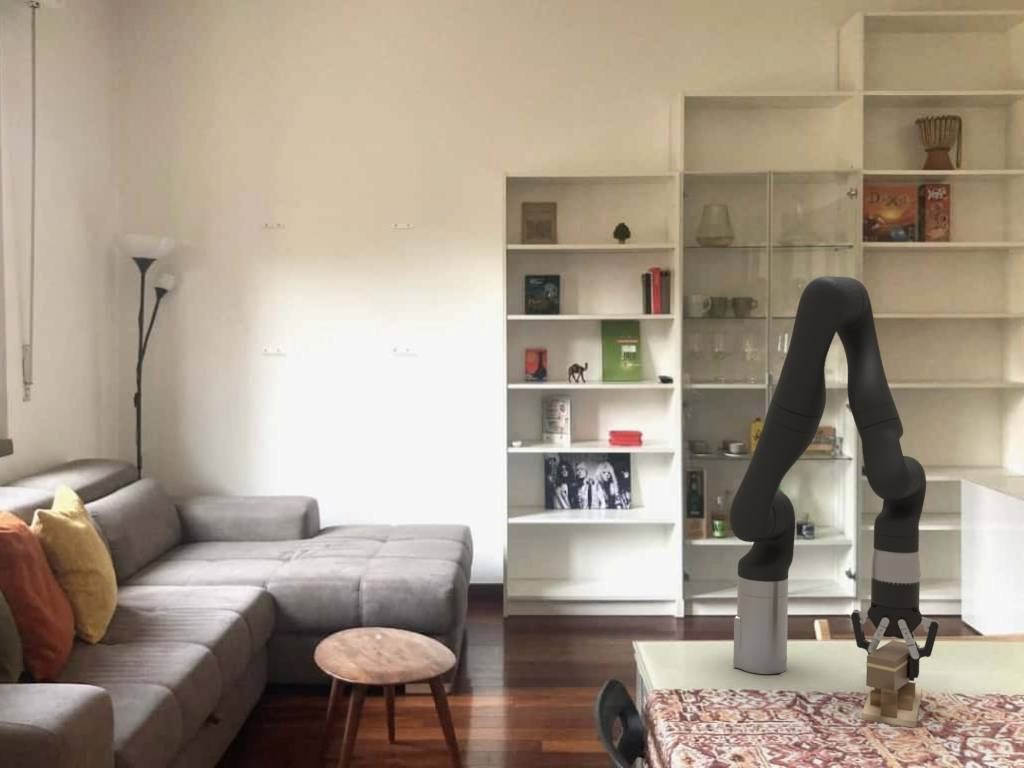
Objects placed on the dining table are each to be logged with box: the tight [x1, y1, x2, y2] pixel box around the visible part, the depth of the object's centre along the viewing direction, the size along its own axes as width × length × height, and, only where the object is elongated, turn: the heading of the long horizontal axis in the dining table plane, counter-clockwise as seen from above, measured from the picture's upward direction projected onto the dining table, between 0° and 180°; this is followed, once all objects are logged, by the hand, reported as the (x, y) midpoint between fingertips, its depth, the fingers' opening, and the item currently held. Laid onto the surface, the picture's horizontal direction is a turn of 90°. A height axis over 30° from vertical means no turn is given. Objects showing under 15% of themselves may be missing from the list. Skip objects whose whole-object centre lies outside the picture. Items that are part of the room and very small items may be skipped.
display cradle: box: [861, 681, 923, 729], centre depth 163 cm, size 8×18×5 cm, turn 154°
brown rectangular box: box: [865, 639, 920, 691], centre depth 163 cm, size 5×12×5 cm, turn 139°
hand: (893, 676), depth 163 cm, fingers closed on brown rectangular box, 5 cm apart
